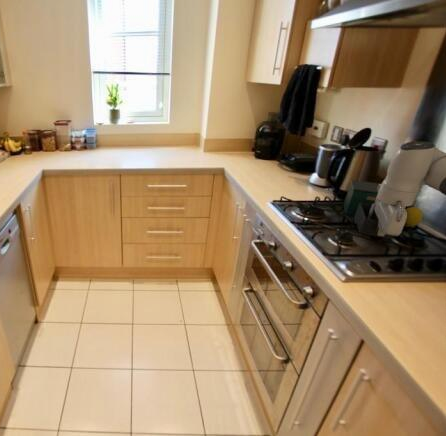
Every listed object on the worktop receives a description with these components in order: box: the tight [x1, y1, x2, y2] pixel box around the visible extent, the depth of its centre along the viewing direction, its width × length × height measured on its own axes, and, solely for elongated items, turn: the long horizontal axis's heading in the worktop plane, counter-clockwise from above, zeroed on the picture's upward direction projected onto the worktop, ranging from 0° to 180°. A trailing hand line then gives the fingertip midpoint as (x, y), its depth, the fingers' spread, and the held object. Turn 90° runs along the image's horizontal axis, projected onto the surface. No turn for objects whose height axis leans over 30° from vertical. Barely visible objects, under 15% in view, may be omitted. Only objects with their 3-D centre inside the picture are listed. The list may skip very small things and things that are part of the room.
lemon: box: [404, 206, 424, 228], centre depth 112 cm, size 6×6×8 cm
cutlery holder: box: [352, 203, 394, 240], centre depth 110 cm, size 9×14×10 cm, turn 152°
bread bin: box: [343, 179, 380, 217], centre depth 121 cm, size 14×11×11 cm
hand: (379, 234), depth 103 cm, fingers closed
